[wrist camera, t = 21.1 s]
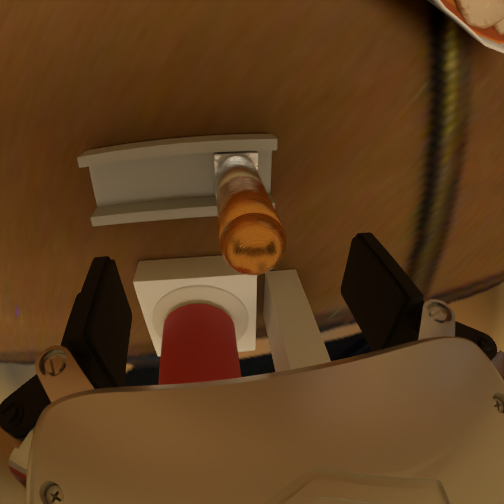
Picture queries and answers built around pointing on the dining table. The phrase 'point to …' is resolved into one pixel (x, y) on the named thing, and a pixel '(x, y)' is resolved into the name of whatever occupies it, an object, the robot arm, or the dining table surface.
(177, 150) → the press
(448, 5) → the ramen bowl
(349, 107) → the dining table surface
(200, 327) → the beer can
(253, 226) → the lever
